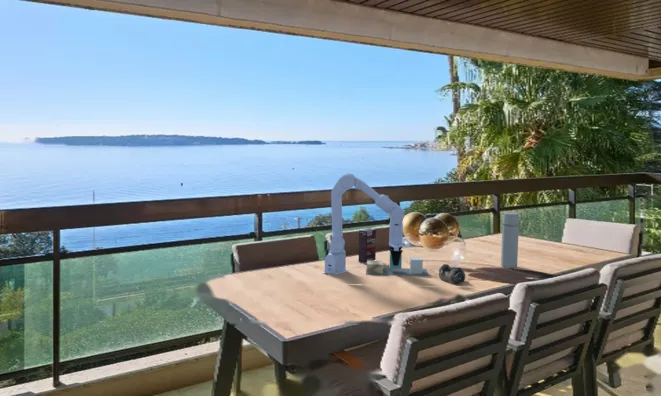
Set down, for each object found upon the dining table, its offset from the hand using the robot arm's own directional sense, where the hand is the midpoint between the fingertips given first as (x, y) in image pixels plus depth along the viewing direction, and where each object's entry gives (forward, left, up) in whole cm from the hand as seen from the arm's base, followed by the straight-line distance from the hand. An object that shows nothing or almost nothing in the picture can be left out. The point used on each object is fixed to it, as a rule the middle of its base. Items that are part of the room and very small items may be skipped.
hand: (395, 263), depth 223 cm
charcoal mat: (0, -1, -4) cm, 4 cm away
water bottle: (+43, -36, -4) cm, 56 cm away
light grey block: (+5, -8, -4) cm, 10 cm away
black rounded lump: (0, -26, -5) cm, 26 cm away
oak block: (-5, +7, -4) cm, 10 cm away
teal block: (0, 0, -1) cm, 1 cm away
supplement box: (+10, +21, -4) cm, 24 cm away
